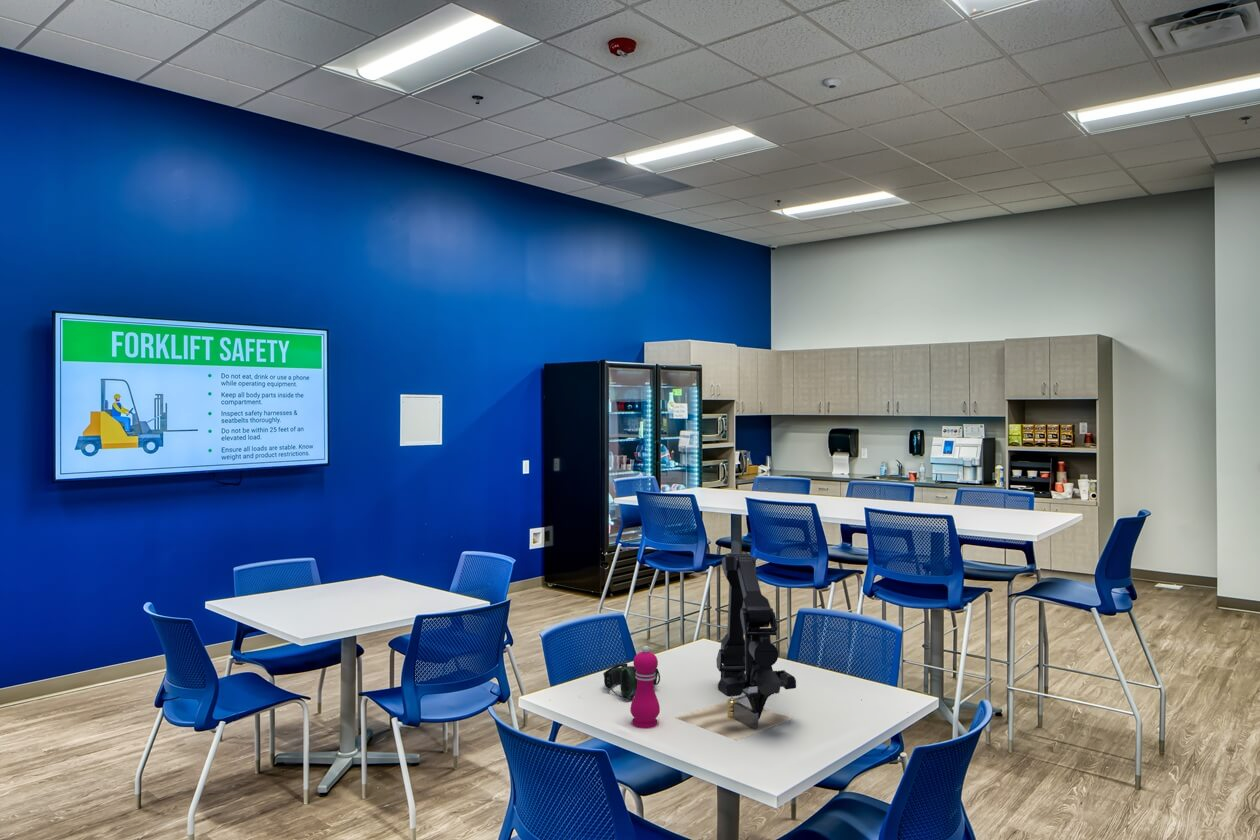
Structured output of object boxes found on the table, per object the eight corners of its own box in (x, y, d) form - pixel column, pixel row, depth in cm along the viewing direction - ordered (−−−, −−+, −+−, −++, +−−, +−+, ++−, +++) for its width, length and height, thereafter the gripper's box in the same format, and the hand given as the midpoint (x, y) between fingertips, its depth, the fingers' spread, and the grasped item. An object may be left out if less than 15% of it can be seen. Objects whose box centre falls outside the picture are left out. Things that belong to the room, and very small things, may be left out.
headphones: (677, 679, 222) (652, 670, 241) (643, 646, 221) (620, 639, 239) (646, 719, 218) (623, 707, 236) (611, 685, 216) (590, 676, 235)
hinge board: (674, 721, 205) (674, 717, 205) (731, 702, 220) (731, 698, 220) (736, 744, 191) (736, 740, 191) (793, 722, 206) (793, 718, 206)
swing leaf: (726, 714, 207) (726, 699, 207) (733, 713, 208) (733, 698, 208) (752, 729, 197) (752, 713, 197) (760, 727, 198) (760, 712, 198)
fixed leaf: (732, 718, 205) (733, 700, 205) (725, 716, 207) (725, 698, 207) (761, 708, 213) (761, 691, 213) (753, 706, 214) (754, 689, 214)
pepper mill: (642, 720, 206) (643, 640, 206) (665, 727, 202) (666, 645, 202) (624, 728, 201) (625, 646, 201) (647, 735, 196) (648, 651, 196)
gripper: (736, 668, 190) (737, 735, 190) (807, 659, 196) (808, 725, 196) (716, 655, 201) (717, 719, 201) (784, 647, 206) (785, 709, 206)
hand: (757, 718), depth 201 cm, fingers closed
